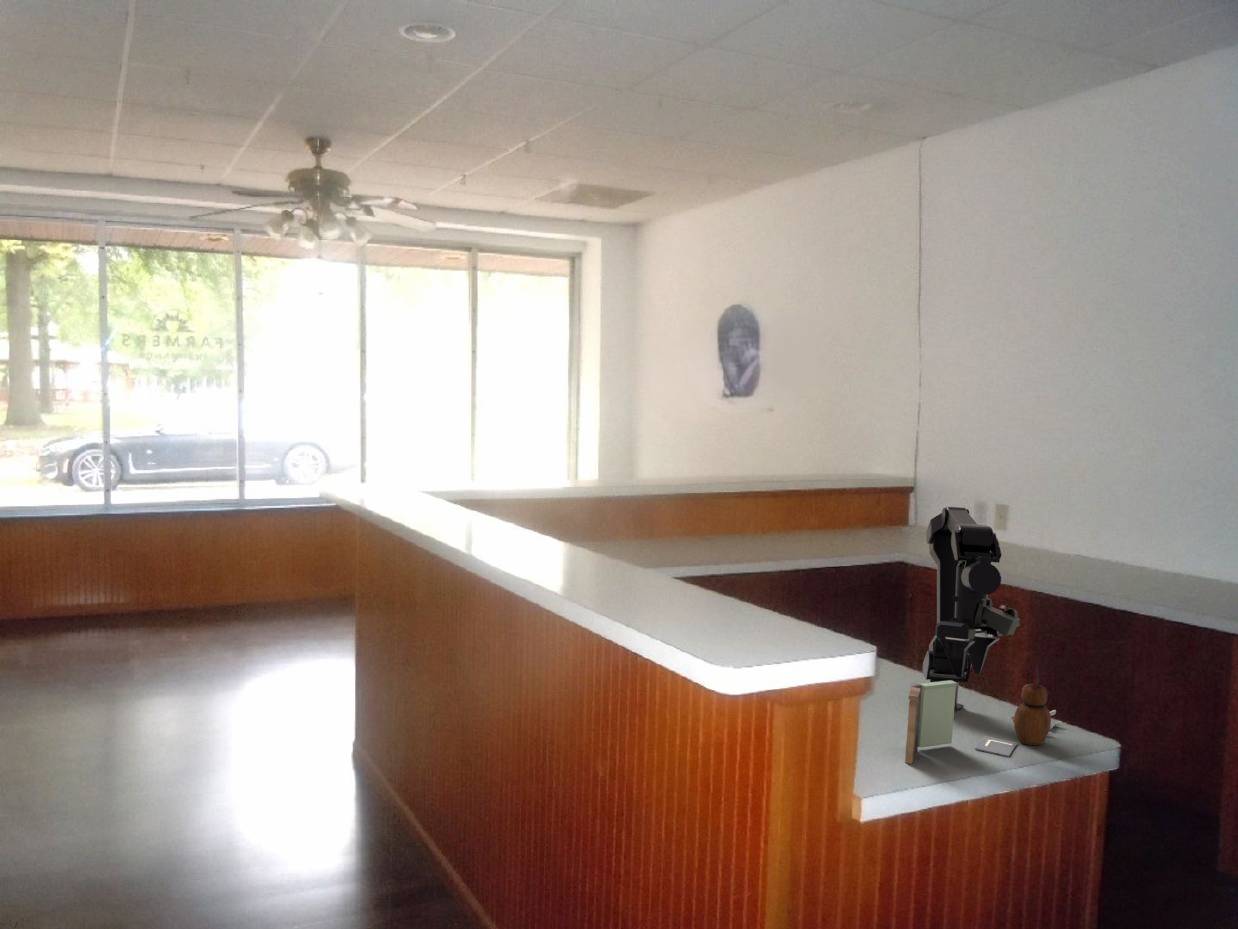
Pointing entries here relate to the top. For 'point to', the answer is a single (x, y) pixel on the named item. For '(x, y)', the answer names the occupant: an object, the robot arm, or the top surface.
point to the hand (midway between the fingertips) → (968, 675)
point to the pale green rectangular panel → (936, 713)
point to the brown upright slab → (913, 722)
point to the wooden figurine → (1032, 714)
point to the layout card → (996, 746)
